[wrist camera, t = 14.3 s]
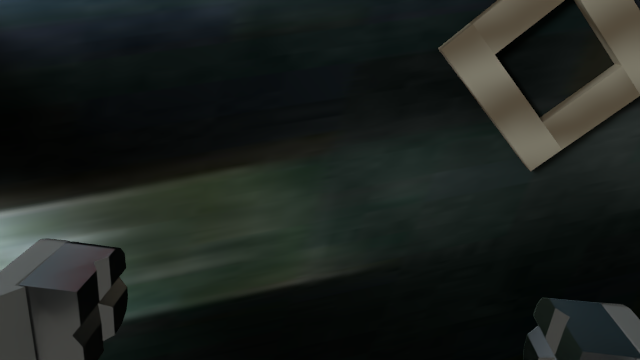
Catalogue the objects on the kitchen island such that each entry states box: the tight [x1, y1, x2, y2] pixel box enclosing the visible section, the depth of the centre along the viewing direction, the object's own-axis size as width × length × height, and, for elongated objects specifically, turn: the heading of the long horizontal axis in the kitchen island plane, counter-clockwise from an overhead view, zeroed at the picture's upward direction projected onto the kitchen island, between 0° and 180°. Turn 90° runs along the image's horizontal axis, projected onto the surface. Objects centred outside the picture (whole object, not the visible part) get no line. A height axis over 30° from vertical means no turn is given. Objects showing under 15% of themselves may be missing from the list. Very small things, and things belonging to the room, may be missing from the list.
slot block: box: [438, 0, 640, 171], centre depth 36 cm, size 12×12×1 cm
